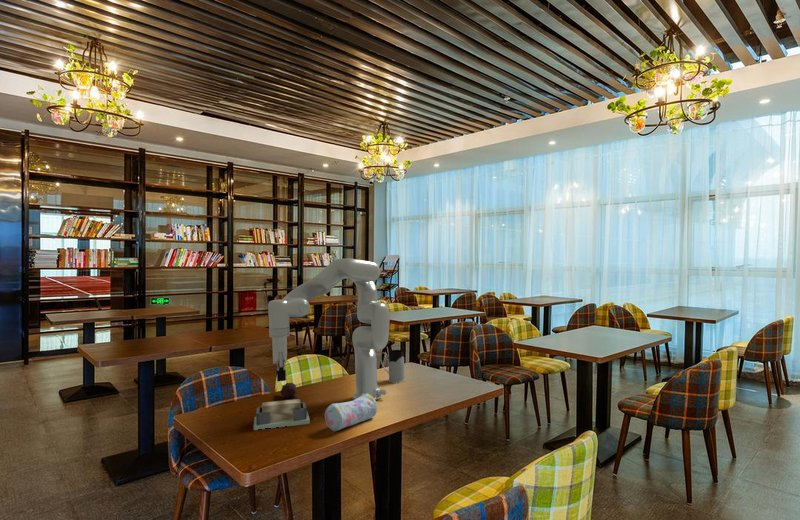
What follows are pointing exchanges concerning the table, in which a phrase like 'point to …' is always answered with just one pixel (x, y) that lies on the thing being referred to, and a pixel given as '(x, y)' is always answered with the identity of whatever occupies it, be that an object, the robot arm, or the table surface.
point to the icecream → (289, 391)
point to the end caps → (265, 417)
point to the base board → (281, 423)
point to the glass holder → (395, 366)
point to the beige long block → (281, 409)
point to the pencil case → (350, 412)
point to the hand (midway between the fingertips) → (281, 380)
